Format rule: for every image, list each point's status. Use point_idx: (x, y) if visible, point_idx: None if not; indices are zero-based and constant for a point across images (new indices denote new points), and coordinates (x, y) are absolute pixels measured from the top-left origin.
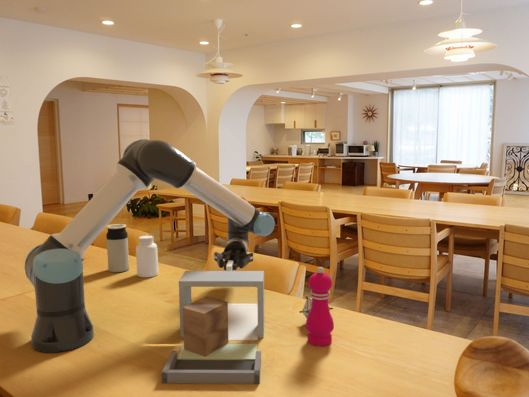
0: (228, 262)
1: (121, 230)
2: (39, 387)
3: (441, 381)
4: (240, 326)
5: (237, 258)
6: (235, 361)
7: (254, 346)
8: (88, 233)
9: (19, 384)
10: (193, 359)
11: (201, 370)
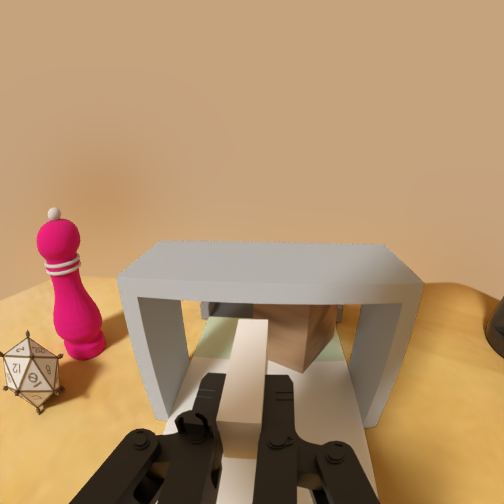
0: (258, 376)
1: None
2: (442, 286)
3: (51, 281)
4: None
5: (165, 492)
6: (241, 317)
7: (203, 341)
8: None
9: (461, 287)
10: None
11: None
